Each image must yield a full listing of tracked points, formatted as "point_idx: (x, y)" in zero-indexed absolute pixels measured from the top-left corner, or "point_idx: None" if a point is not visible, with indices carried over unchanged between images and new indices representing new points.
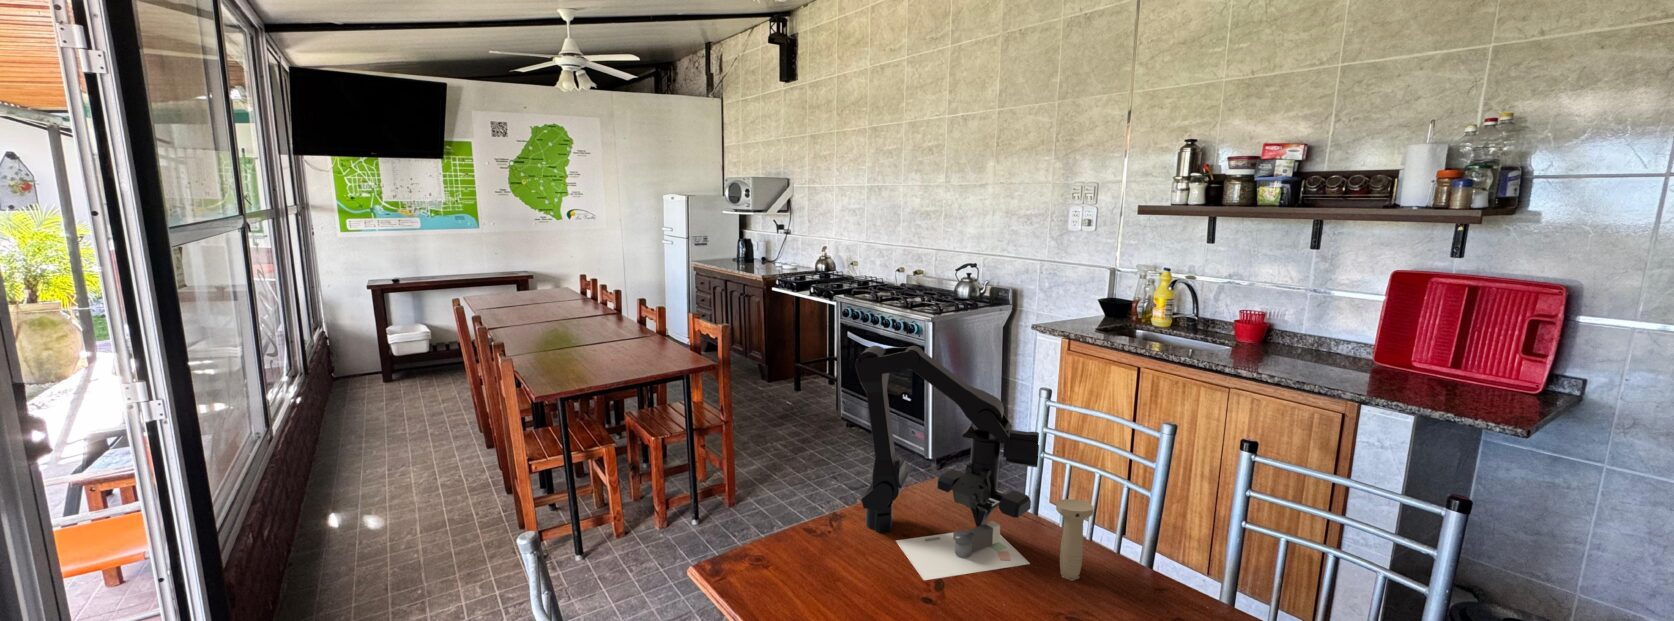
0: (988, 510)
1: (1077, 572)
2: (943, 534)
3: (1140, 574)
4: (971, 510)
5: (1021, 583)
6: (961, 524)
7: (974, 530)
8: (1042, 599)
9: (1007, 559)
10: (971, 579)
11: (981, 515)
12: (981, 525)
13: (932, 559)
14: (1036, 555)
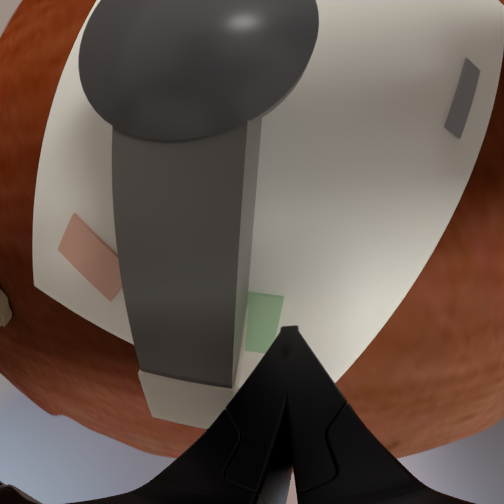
0: (3, 486)
1: None
2: (460, 187)
3: (20, 387)
4: (382, 449)
5: (5, 178)
6: (433, 346)
7: (188, 219)
8: None
9: (64, 241)
10: None
11: (225, 447)
12: (229, 355)
13: None
14: (100, 357)
